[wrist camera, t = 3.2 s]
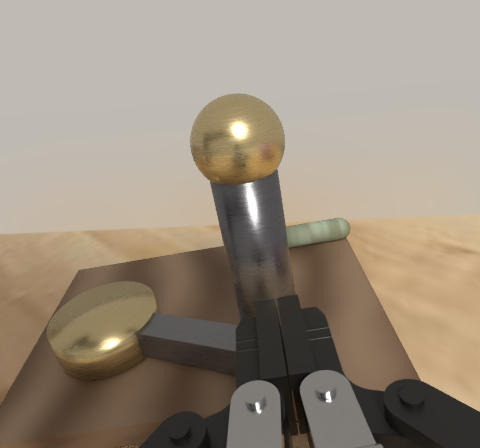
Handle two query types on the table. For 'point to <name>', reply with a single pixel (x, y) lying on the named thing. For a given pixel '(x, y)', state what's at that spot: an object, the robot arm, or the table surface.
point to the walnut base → (191, 377)
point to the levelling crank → (236, 247)
